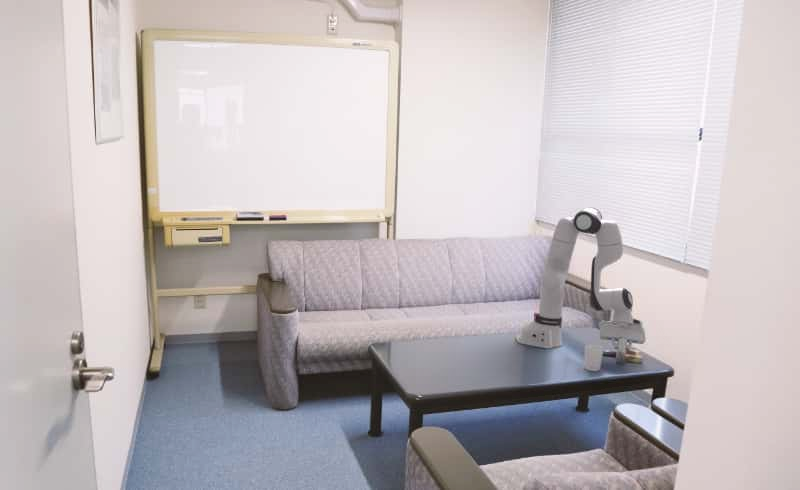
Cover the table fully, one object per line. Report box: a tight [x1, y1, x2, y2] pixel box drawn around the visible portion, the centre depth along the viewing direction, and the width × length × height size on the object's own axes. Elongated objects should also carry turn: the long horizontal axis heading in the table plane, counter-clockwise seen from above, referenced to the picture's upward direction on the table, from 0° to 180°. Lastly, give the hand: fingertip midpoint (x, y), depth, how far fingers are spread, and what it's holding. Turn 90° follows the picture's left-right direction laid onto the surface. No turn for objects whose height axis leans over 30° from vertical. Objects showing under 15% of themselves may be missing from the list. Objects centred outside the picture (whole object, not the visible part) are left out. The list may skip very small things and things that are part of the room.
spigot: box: [615, 337, 628, 366], centre depth 278 cm, size 4×4×12 cm
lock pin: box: [602, 349, 617, 358], centre depth 289 cm, size 8×2×2 cm, turn 75°
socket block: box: [625, 349, 643, 364], centre depth 287 cm, size 10×10×2 cm
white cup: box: [583, 343, 604, 372], centre depth 270 cm, size 8×8×10 cm
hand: (621, 349), depth 278 cm, fingers closed on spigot, 4 cm apart
